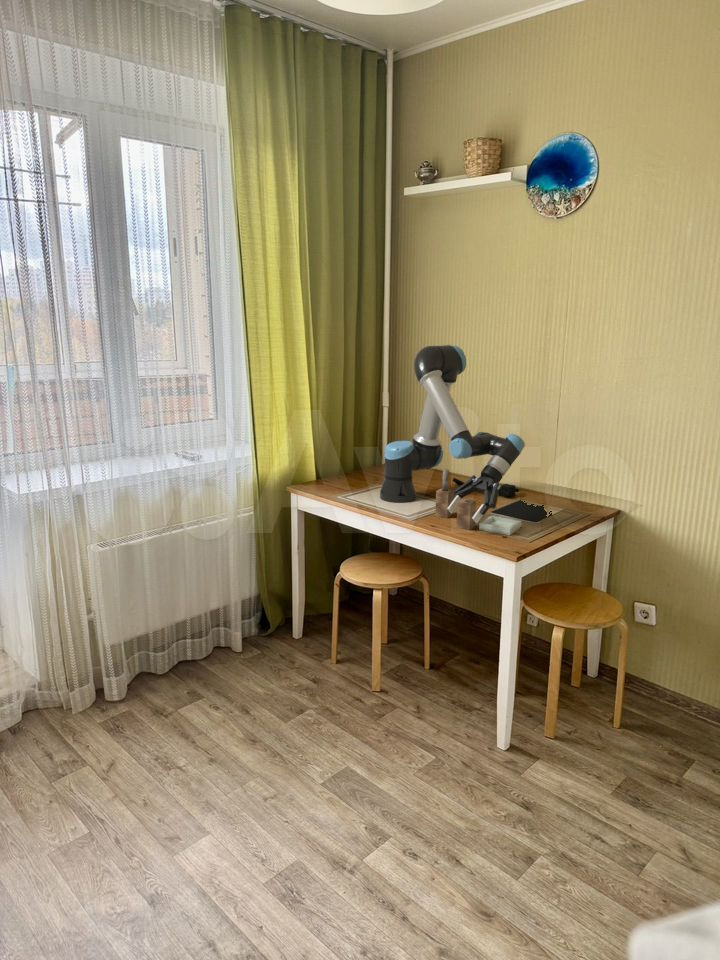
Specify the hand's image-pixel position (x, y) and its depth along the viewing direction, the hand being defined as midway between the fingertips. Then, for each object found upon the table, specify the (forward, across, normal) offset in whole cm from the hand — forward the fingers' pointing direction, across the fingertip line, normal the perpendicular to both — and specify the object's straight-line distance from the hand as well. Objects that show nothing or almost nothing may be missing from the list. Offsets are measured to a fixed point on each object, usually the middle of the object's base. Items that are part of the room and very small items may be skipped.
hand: (461, 515), depth 251 cm
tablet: (-23, +4, -31) cm, 39 cm away
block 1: (0, +16, -7) cm, 17 cm away
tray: (-5, -7, -12) cm, 15 cm away
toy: (-27, +36, -34) cm, 56 cm away
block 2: (+2, 0, -5) cm, 5 cm away
